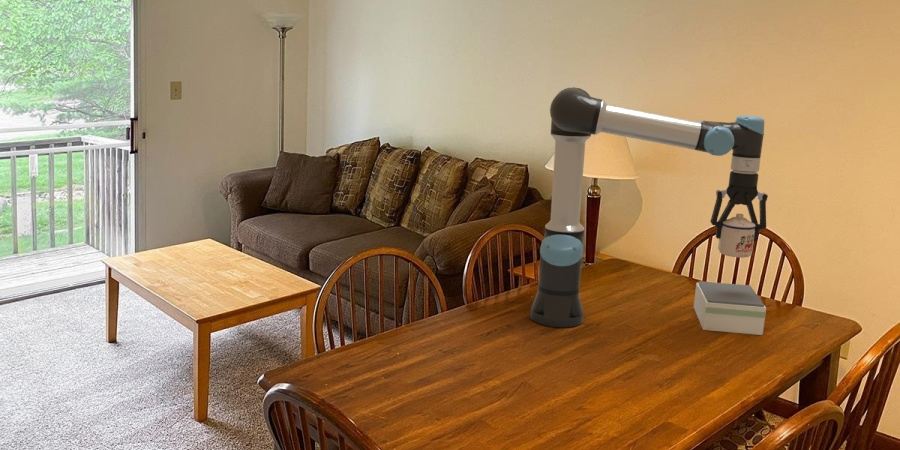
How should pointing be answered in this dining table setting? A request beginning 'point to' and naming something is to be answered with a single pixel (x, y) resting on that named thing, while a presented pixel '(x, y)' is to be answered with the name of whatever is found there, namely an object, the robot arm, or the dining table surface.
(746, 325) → the stand
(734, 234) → the teacup with lid
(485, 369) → the dining table surface
